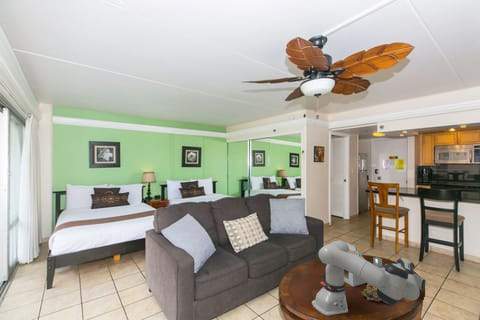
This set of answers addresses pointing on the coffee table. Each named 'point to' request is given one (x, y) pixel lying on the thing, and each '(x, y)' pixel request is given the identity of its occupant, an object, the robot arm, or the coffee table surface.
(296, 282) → the coffee table surface
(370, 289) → the mineral formation
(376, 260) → the brushed metal cylinder
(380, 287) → the robot arm
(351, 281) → the gable box
